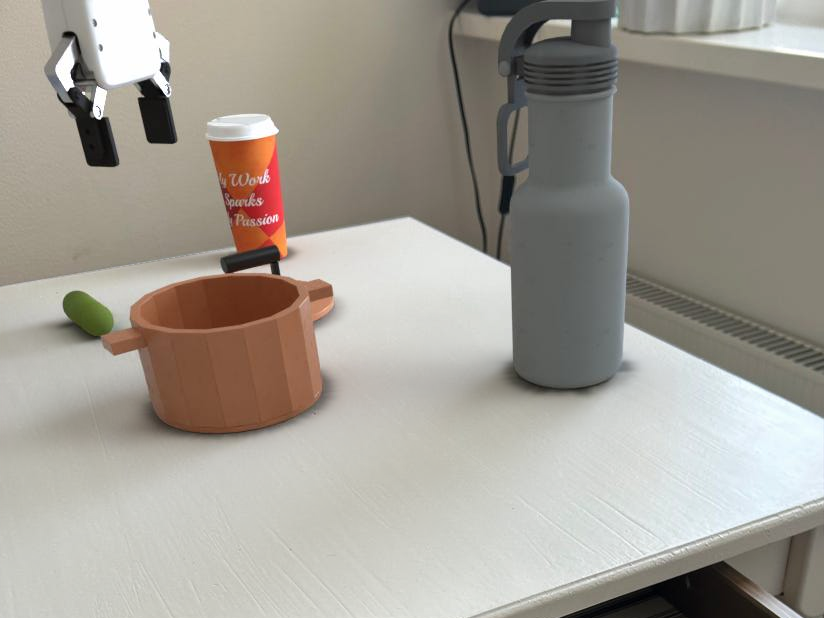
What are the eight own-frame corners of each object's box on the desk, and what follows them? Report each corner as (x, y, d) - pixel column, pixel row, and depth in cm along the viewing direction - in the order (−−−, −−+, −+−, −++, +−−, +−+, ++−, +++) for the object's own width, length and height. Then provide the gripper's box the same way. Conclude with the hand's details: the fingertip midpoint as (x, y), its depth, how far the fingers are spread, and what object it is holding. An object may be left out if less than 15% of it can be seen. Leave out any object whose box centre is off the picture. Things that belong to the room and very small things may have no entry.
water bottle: (489, 379, 87) (474, 6, 70) (540, 342, 93) (537, -8, 76) (593, 399, 83) (604, 7, 65) (639, 358, 89) (660, -9, 72)
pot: (379, 389, 86) (367, 293, 81) (165, 460, 77) (137, 357, 72) (300, 344, 96) (285, 255, 91) (101, 403, 87) (72, 307, 82)
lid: (362, 315, 102) (354, 250, 98) (224, 354, 95) (210, 286, 91) (291, 280, 112) (281, 220, 108) (162, 314, 105) (147, 251, 101)
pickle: (122, 335, 100) (113, 304, 98) (91, 343, 99) (82, 312, 97) (93, 314, 106) (84, 284, 104) (63, 321, 104) (54, 291, 102)
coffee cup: (217, 265, 118) (189, 127, 109) (246, 245, 124) (221, 112, 115) (282, 267, 116) (258, 126, 107) (308, 246, 122) (287, 112, 113)
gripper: (105, -72, 90) (151, 134, 100) (-26, -60, 77) (43, 174, 87) (175, -75, 88) (215, 136, 98) (54, -64, 75) (114, 177, 85)
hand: (134, 154), depth 93 cm, fingers open, 9 cm apart
